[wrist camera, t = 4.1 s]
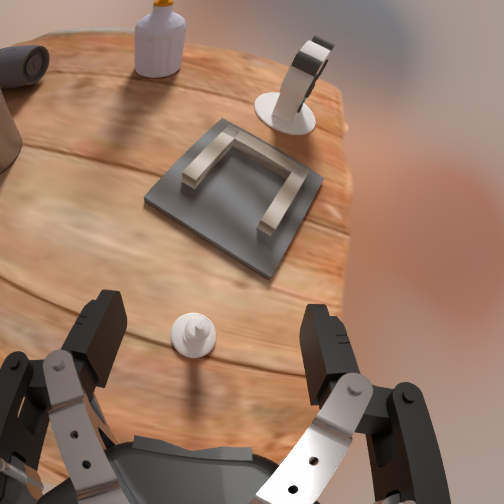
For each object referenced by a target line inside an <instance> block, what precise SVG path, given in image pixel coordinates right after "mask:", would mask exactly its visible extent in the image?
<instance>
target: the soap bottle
mask: <svg viewBox="0 0 504 504" xmlns="http://www.w3.org/2000/svg"><path fill="white" fill-rule="evenodd" d="M172 9H173V1H172V0H157V1H155V2H154V5H153V12H152V13H151V14H149V15H147V16H145V17H143V18H142V19H141V20H140V21H139V22H138V23H137V25H136V27H135V71H136V72H137V73H138V74H139V75H141V76H144V77H150V78H159V77H165V76H169V75H171V74H173V73H175V72H177V71H178V70H179V69H180V66H181V62H182V54H183V46H184V39H185V32H186V22H185V20H184V18H183V17H181V16H180V15H178V14H176V13H174V12H172Z"/></svg>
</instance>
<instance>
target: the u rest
mask: <svg viewBox="0 0 504 504" xmlns="http://www.w3.org/2000/svg"><path fill="white" fill-rule="evenodd" d="M323 179H324V178H323V177H321V176H320V175H318V174H317V173H315V172H314V171H312V170H311V169H309V168H308V167H306V166H304V165H303V164H301V163H300V162H298V161H297V160H295V159H293V158H292V157H290V156H288V155H287V154H285V153H284V152H282V151H280V150H279V149H277V148H275V147H274V146H272V145H270V144H268V143H267V142H265V141H263V140H261V139H260V138H258V137H256V136H254V135H253V134H251V133H249V132H247V131H245V130H244V129H242V128H240V127H238V126H236V125H234V124H233V123H231V122H229V121H227V120H225V119H223V118H222V119H221V120H220V121H218V122H217V123H216V124H215V125H214V126H213V127H212V128H211V129H210V130H209V131H208V132H206V133H205V134H204V135H203V136H202V137H201V138H200V139H199V140H198V141H197V142H196V143H195V144H194V145H193V146H192V147H191V148H190V149H189V150H188V151H187V152H186V153H185V154H184V155H183V156H182V157H181V158H180V159H179V160H178V161H177V162H176V163H175V164H174V165H173V166H172V167H171V168H170V169H169V170H168V171H167V172H166V173H165V174H164V175H163V176H162V177H161V178H160V180H159V181H158V182H157V183H156V184H155V185H154V186H153V187H152V188H151V189H150V190H149V192H148V193H147V194H146V195H145V196H144V201H145V202H147V203H148V204H150V205H151V206H153V207H155V208H156V209H158V210H159V211H161V212H162V213H164V214H165V215H167V216H169V217H170V218H172V219H173V220H175V221H176V222H178V223H179V224H181V225H183V226H184V227H186V228H187V229H189V230H190V231H192V232H194V233H195V234H197V235H198V236H200V237H201V238H203V239H205V240H206V241H208V242H209V243H211V244H212V245H214V246H216V247H217V248H219V249H220V250H222V251H224V252H225V253H227V254H228V255H230V256H231V257H233V258H235V259H236V260H238V261H239V262H241V263H243V264H244V265H246V266H247V267H249V268H251V269H252V270H254V271H255V272H257V273H259V274H260V275H262V276H263V277H265V278H267V279H268V280H269V279H270V278H271V277H272V275H273V273H274V272H275V270H276V268H277V266H278V264H279V262H280V261H281V259H282V257H283V255H284V253H285V251H286V250H287V248H288V246H289V244H290V242H291V240H292V238H293V237H294V235H295V233H296V231H297V229H298V227H299V225H300V223H301V222H302V220H303V218H304V216H305V214H306V212H307V210H308V208H309V206H310V204H311V202H312V201H313V199H314V197H315V195H316V193H317V191H318V189H319V187H320V185H321V183H322V181H323Z"/></svg>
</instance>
